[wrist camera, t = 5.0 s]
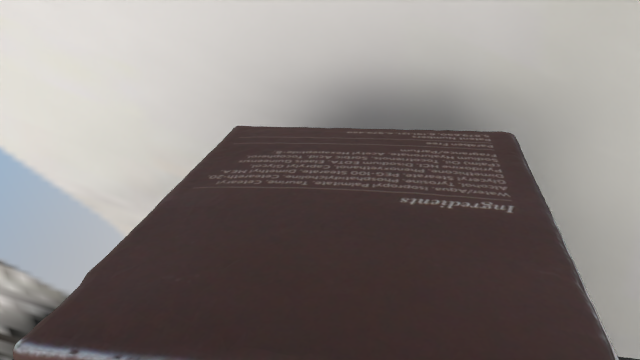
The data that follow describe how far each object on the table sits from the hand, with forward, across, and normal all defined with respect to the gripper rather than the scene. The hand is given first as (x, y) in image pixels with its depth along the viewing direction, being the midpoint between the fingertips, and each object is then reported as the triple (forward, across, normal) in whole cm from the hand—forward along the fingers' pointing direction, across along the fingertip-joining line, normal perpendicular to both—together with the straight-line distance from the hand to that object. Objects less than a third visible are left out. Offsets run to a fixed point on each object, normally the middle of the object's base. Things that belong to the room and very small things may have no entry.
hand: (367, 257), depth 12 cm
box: (+1, 0, 0) cm, 1 cm away
